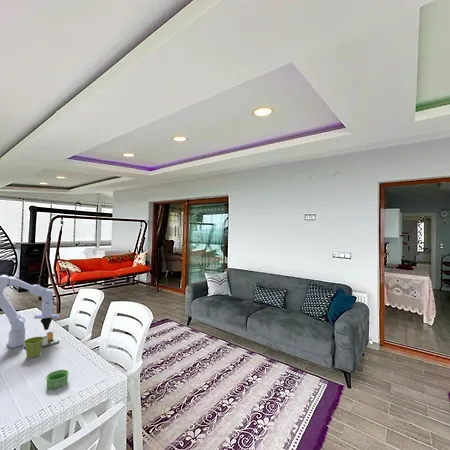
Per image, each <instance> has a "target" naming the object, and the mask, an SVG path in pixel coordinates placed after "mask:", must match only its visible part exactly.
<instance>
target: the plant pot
mask: <svg viewBox="0 0 450 450" xmlns="http://www.w3.org/2000/svg"><path fill="white" fill-rule="evenodd" d="M43 340H44V336H33V337H29V338H27V339H25V341H24V345H25V347H26V349H25V352H26V357H27V358H36V357H38V356H40V354H41V351H42V349H41V346H42V342H43Z"/></svg>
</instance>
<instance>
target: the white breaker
mask: <svg viewBox="0 0 450 450" xmlns="http://www.w3.org/2000/svg"><path fill="white" fill-rule="evenodd" d="M43 337H44V340H43V342H42V345H46V344H48V337H47V335H45V336H43Z"/></svg>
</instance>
